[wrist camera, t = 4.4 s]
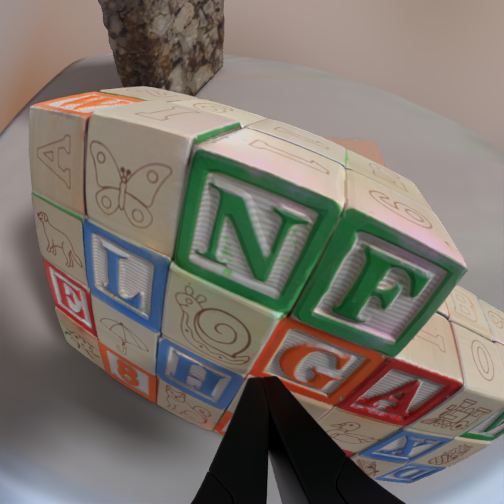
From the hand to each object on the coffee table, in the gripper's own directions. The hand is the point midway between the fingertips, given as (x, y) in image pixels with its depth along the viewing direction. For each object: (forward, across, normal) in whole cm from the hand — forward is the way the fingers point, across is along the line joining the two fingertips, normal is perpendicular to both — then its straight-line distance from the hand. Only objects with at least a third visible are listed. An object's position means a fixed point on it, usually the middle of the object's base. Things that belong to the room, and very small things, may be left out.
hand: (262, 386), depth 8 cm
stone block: (+28, +6, -13) cm, 31 cm away
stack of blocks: (+5, 0, +6) cm, 8 cm away
